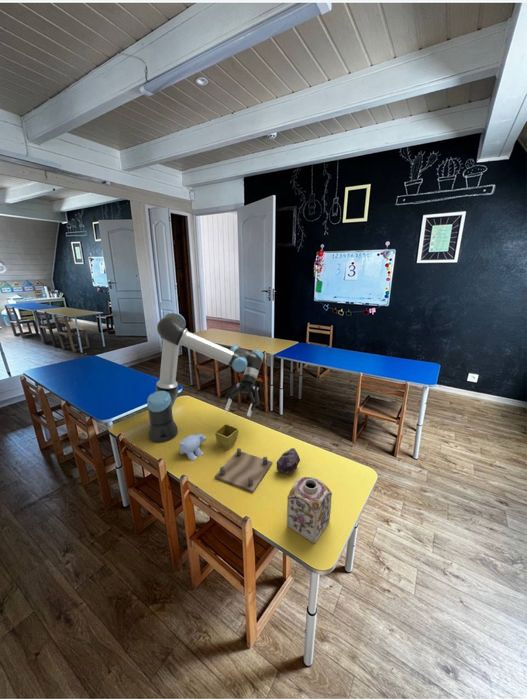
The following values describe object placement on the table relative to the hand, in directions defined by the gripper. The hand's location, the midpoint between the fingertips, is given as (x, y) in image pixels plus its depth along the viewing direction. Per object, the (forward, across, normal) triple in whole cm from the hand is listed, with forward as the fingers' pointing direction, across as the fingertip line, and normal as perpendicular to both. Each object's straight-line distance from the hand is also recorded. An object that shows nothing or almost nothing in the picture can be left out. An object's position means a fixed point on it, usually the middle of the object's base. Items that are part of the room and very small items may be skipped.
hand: (237, 413), depth 148 cm
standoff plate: (+25, -16, +6) cm, 30 cm away
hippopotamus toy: (+24, +13, +5) cm, 28 cm away
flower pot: (+17, 0, -3) cm, 17 cm away
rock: (+18, -34, -1) cm, 39 cm away
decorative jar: (+34, -50, +15) cm, 63 cm away
